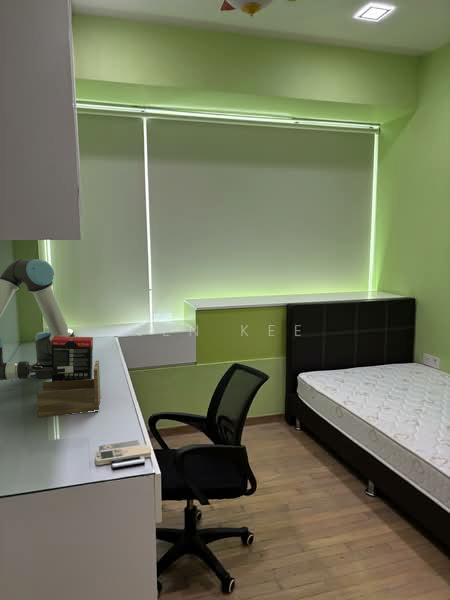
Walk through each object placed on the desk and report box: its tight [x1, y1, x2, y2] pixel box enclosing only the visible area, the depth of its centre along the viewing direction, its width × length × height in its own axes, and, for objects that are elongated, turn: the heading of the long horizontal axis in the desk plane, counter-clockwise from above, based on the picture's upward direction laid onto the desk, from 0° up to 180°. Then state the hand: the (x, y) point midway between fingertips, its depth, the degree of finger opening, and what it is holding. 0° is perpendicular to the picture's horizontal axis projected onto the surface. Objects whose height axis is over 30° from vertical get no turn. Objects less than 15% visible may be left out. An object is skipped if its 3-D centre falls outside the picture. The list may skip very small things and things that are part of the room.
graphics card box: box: [51, 336, 94, 382], centre depth 192 cm, size 17×7×27 cm, turn 100°
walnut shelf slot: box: [36, 360, 102, 418], centre depth 180 cm, size 14×23×18 cm, turn 103°
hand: (73, 366), depth 192 cm, fingers closed on graphics card box, 6 cm apart
